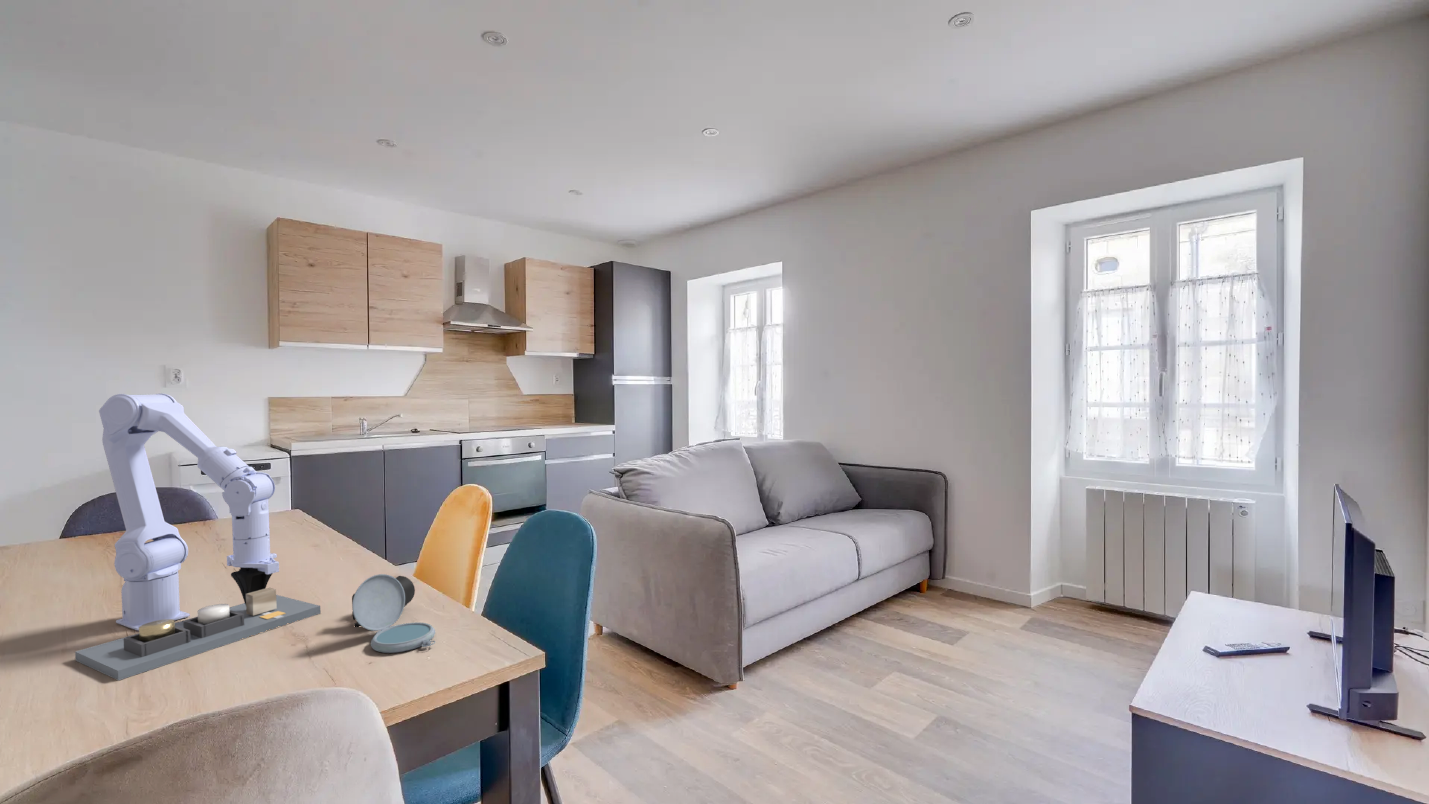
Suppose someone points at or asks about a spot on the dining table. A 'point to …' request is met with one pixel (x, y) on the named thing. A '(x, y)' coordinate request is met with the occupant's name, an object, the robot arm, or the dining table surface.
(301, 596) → the dining table surface
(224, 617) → the white button
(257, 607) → the frosted cream block
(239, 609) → the panel
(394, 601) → the pocket watch
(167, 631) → the brass button
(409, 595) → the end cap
